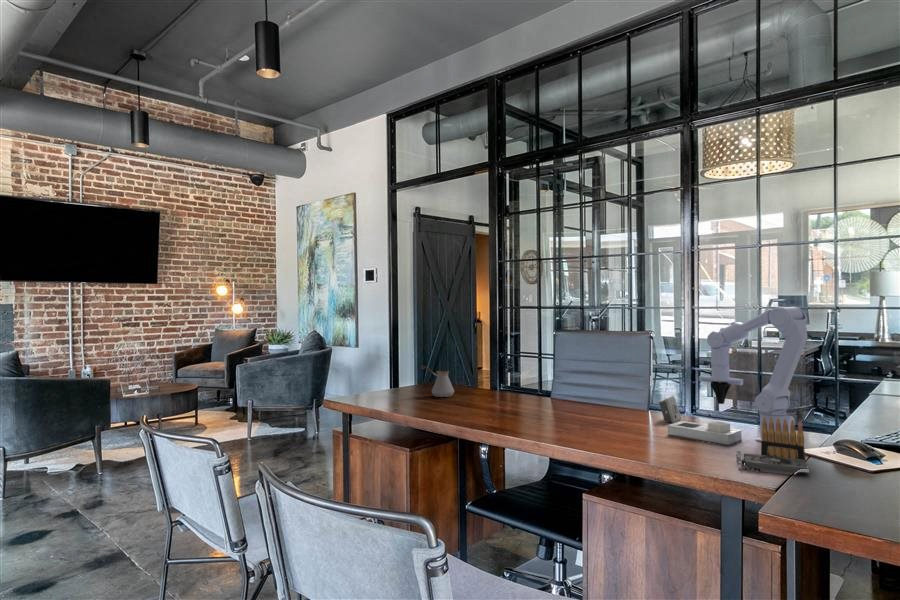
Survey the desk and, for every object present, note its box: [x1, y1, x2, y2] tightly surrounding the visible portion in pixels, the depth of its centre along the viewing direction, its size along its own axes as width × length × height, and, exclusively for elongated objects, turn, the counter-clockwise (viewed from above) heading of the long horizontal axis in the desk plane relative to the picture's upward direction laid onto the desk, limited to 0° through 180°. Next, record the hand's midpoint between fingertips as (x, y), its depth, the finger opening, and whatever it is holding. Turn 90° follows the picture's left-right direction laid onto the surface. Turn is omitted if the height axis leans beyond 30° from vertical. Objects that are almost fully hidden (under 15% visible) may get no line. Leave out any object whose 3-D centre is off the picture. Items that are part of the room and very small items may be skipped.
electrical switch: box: [658, 395, 682, 424], centre depth 209 cm, size 9×5×9 cm, turn 141°
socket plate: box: [667, 420, 743, 447], centre depth 181 cm, size 20×10×4 cm, turn 40°
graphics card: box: [735, 450, 811, 476], centre depth 145 cm, size 17×4×12 cm
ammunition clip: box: [760, 417, 806, 460], centre depth 154 cm, size 11×2×12 cm, turn 50°
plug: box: [707, 421, 731, 433], centre depth 177 cm, size 4×5×5 cm
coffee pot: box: [421, 365, 455, 398], centre depth 276 cm, size 21×12×15 cm, turn 43°
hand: (721, 403), depth 192 cm, fingers closed
